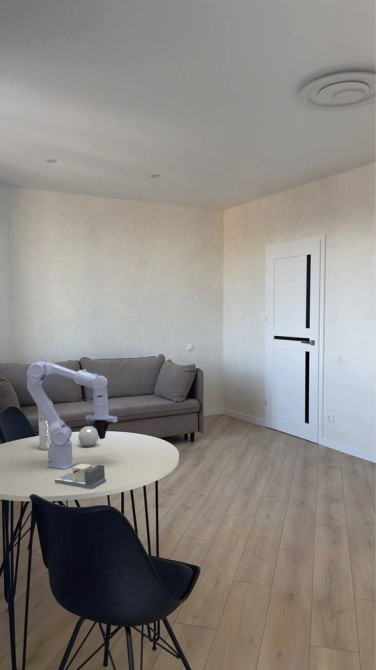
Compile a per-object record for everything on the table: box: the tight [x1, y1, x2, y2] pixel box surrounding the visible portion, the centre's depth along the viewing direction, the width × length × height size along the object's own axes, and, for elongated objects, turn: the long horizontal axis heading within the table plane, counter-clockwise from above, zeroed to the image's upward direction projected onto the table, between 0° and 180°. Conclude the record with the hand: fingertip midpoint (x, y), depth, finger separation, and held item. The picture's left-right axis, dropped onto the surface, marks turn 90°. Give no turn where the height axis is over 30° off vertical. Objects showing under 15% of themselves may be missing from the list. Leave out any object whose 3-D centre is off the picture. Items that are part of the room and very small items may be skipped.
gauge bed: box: [54, 472, 107, 490], centre depth 176 cm, size 17×8×2 cm, turn 64°
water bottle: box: [37, 399, 54, 451], centre depth 224 cm, size 7×7×25 cm
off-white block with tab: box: [72, 463, 93, 482], centre depth 174 cm, size 6×8×5 cm
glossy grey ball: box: [77, 425, 99, 448], centre depth 229 cm, size 9×10×15 cm
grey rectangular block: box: [85, 464, 106, 485], centre depth 173 cm, size 2×8×5 cm, turn 154°
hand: (102, 438), depth 198 cm, fingers closed
